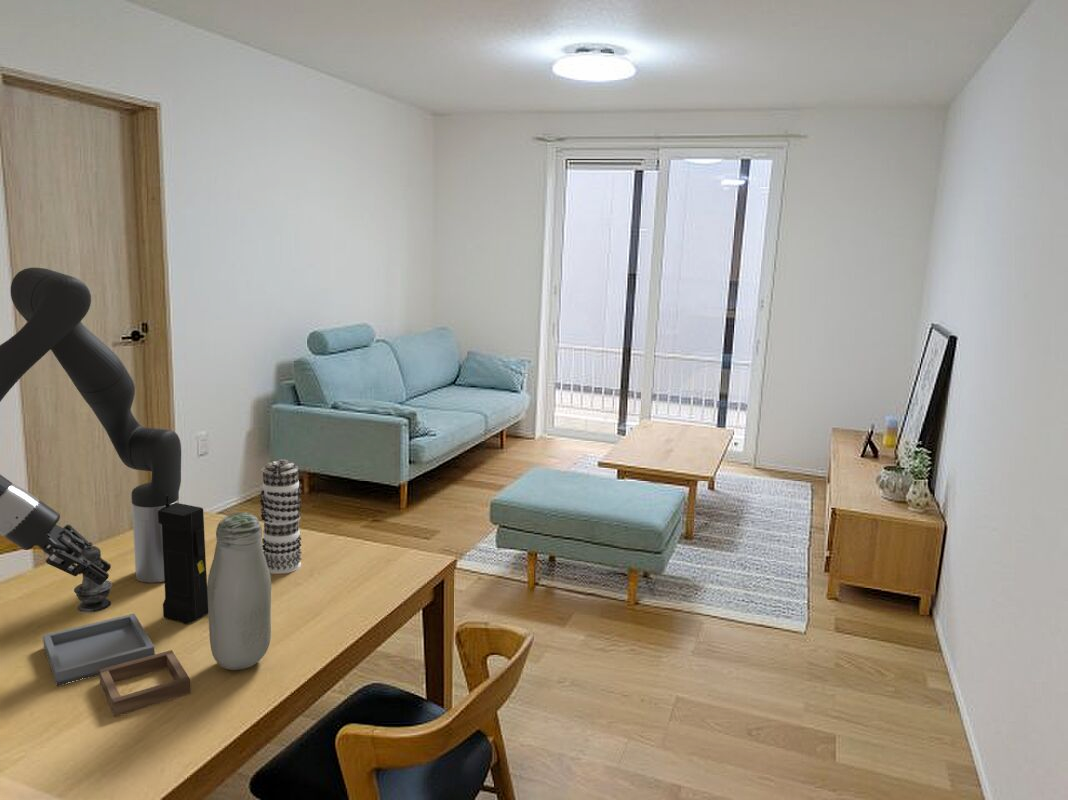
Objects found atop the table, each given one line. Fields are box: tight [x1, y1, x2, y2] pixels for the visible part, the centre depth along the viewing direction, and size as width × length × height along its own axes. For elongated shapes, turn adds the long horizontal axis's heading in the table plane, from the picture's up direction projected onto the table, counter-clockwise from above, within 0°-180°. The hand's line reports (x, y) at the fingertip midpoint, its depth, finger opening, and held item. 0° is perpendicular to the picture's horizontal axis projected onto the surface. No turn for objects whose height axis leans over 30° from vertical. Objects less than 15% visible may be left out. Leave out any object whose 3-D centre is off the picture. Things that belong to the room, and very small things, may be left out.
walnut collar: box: [98, 649, 192, 718], centre depth 128 cm, size 11×11×2 cm
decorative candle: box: [259, 459, 303, 575], centre depth 176 cm, size 9×9×25 cm
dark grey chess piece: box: [73, 541, 113, 614], centre depth 135 cm, size 6×6×12 cm
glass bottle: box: [207, 511, 272, 671], centre depth 134 cm, size 10×10×28 cm
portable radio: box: [158, 495, 208, 625], centre depth 151 cm, size 8×6×25 cm
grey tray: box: [42, 613, 155, 687], centre depth 138 cm, size 15×15×2 cm
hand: (105, 575), depth 136 cm, fingers closed on dark grey chess piece, 3 cm apart
